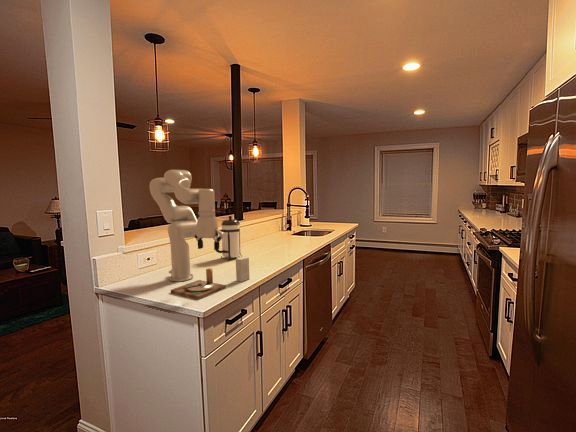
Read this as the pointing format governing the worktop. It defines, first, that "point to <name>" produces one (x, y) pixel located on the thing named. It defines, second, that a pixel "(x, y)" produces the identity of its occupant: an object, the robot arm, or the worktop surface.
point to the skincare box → (242, 269)
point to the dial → (202, 283)
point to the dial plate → (197, 294)
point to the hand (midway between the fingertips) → (208, 249)
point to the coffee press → (230, 238)
